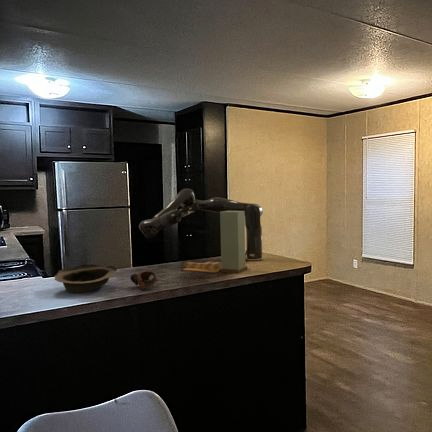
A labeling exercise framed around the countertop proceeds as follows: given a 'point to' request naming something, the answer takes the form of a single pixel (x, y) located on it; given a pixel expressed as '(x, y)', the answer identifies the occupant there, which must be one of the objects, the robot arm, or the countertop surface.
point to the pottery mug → (143, 279)
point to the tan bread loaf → (204, 265)
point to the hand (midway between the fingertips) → (193, 207)
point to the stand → (232, 241)
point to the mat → (200, 270)
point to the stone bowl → (84, 277)
